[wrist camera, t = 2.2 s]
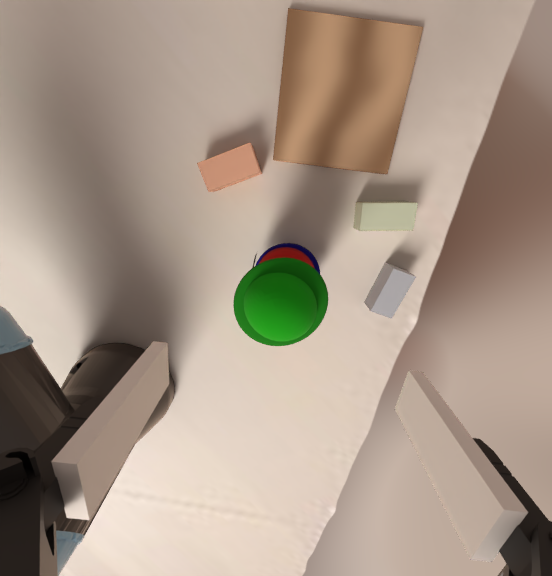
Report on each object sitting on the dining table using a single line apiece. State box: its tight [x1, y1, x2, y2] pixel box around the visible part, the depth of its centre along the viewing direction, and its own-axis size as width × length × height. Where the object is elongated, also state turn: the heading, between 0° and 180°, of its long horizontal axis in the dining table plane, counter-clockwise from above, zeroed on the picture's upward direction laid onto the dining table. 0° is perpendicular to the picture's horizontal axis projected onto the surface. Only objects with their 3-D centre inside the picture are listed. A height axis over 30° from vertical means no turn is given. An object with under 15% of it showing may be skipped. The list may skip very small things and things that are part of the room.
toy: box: [234, 243, 328, 346], centre depth 28 cm, size 9×9×15 cm
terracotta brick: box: [197, 143, 262, 192], centre depth 29 cm, size 6×3×3 cm, turn 109°
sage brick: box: [354, 202, 418, 231], centre depth 31 cm, size 6×3×3 cm, turn 91°
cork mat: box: [273, 8, 423, 174], centre depth 28 cm, size 13×13×1 cm
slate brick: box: [364, 263, 416, 318], centre depth 34 cm, size 6×3×3 cm, turn 160°
